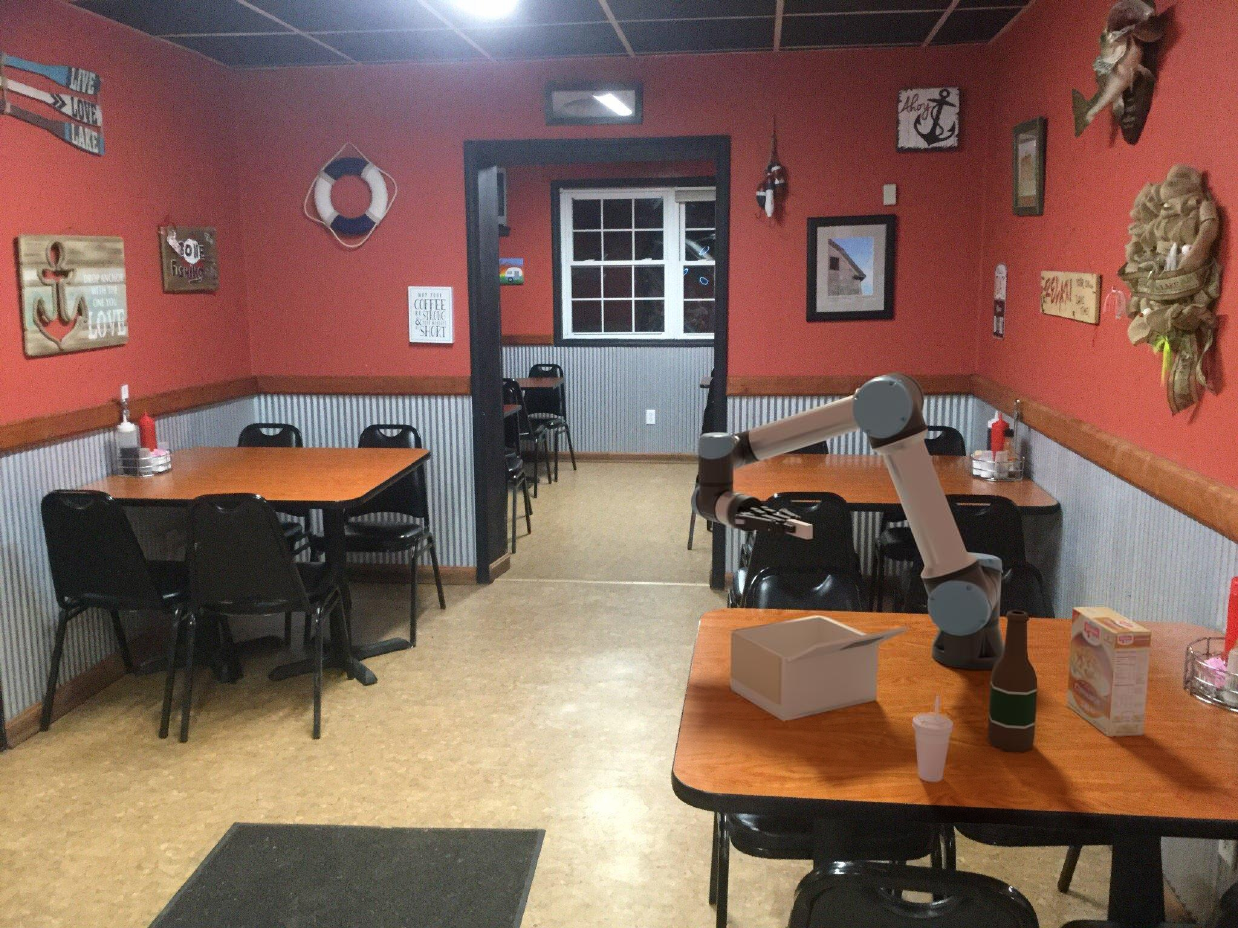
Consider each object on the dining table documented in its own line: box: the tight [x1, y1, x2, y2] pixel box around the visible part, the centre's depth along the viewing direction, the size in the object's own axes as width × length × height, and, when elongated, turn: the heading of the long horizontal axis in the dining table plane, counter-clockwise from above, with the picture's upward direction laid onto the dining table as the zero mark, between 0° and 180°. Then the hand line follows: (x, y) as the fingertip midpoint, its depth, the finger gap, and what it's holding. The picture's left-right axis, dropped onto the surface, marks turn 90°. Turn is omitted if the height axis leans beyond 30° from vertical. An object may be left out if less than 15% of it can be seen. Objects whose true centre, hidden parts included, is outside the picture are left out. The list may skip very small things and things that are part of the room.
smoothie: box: [911, 694, 954, 783], centre depth 174 cm, size 6×6×14 cm
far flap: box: [787, 626, 910, 662], centre depth 196 cm, size 10×21×1 cm, turn 116°
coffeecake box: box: [1065, 606, 1152, 738], centre depth 196 cm, size 15×7×20 cm, turn 5°
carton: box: [729, 614, 879, 722], centre depth 210 cm, size 19×23×12 cm
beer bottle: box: [987, 609, 1038, 754], centre depth 185 cm, size 8×8×24 cm
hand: (809, 532), depth 207 cm, fingers closed
